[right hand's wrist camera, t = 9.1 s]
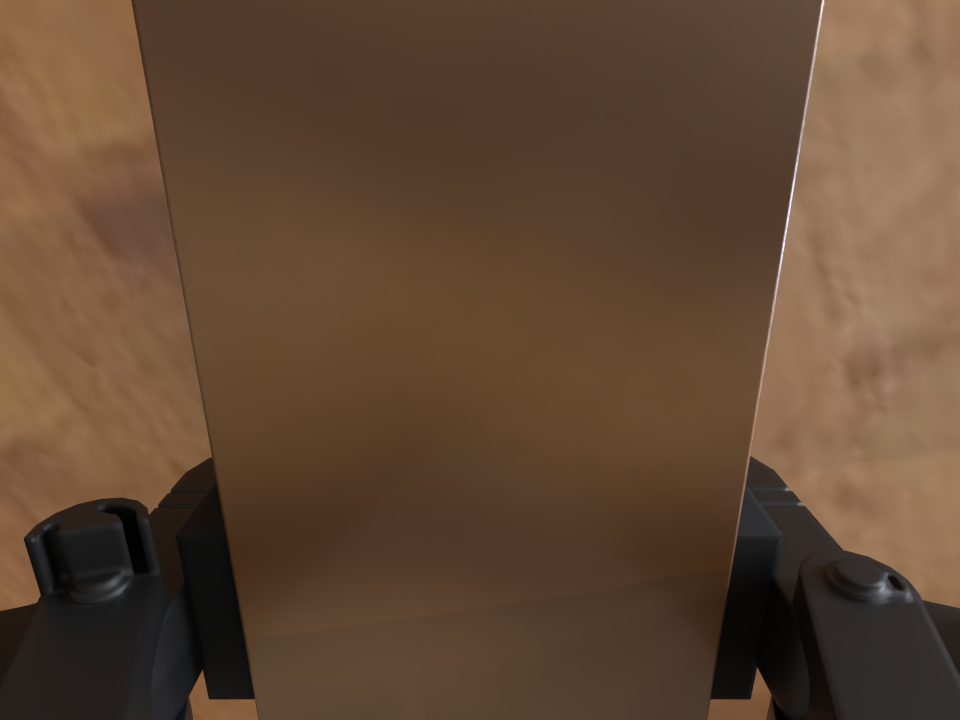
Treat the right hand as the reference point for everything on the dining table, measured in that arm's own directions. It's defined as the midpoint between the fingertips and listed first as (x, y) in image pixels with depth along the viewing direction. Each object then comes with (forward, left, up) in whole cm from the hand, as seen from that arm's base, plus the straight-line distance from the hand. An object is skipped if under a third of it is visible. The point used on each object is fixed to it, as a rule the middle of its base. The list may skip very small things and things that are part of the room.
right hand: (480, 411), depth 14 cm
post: (-4, -34, 0) cm, 34 cm away
